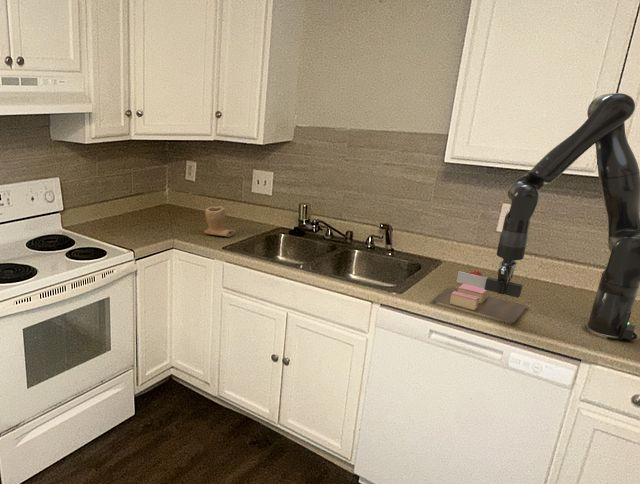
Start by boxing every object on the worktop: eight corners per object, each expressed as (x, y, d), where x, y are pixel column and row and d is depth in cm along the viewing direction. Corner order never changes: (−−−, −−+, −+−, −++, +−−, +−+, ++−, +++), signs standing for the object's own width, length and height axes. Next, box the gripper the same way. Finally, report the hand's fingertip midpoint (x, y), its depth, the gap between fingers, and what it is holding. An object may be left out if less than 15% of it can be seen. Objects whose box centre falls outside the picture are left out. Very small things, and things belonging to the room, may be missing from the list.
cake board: (526, 308, 184) (527, 305, 184) (513, 325, 170) (513, 322, 170) (450, 289, 201) (450, 286, 200) (432, 303, 187) (432, 300, 187)
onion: (465, 284, 205) (469, 265, 203) (482, 288, 202) (486, 268, 199) (463, 288, 201) (466, 269, 199) (480, 292, 197) (484, 272, 195)
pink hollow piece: (199, 235, 268) (200, 207, 263) (210, 230, 278) (211, 203, 273) (226, 240, 260) (227, 211, 256) (236, 235, 270) (238, 207, 265)
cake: (487, 297, 191) (490, 287, 189) (480, 303, 184) (483, 293, 183) (463, 291, 196) (465, 281, 195) (456, 297, 190) (458, 287, 189)
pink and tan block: (477, 307, 181) (479, 297, 180) (474, 310, 179) (476, 299, 178) (452, 301, 186) (454, 291, 185) (449, 303, 184) (451, 293, 183)
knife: (520, 295, 172) (522, 284, 171) (518, 297, 171) (521, 286, 170) (457, 281, 185) (459, 270, 184) (455, 282, 183) (457, 272, 182)
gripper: (521, 250, 163) (510, 301, 168) (530, 241, 172) (519, 290, 177) (493, 245, 168) (483, 295, 173) (504, 237, 177) (494, 284, 182)
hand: (502, 292), depth 175 cm, fingers closed on knife, 2 cm apart
